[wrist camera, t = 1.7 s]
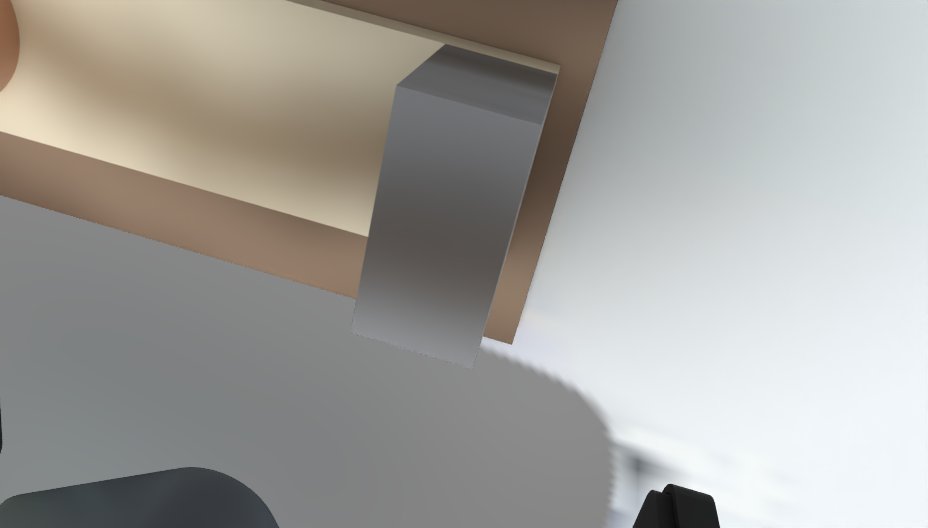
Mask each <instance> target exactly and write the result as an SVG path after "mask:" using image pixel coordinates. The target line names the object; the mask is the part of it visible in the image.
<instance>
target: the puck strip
mask: <svg viewBox="0 0 928 528" xmlns="http://www.w3.org/2000/svg"><path fill="white" fill-rule="evenodd" d="M11 3H12V5H13V8H14V11H15V14H16V18H17V23H18V28H19V37H20V51H19V58H18V63H17V66H16V70H15V72H14V74H13V76H12V78H11V80H10V81H9V83H8V84H7V86H6V87H5V88H4V89H3V90H2V91H1V92H0V131H1V132H5V133H8V134H12V135H15V136H19V137H22V138H26V139H29V140H33V141H36V142H40V143H43V144H47V145H50V146H54V147H57V148H61V149H64V150H67V151H71V152H74V153H78V154H81V155H85V156H88V157H92V158H95V159H99V160H102V161H106V162H109V163H113V164H116V165H120V166H123V167H127V168H130V169H134V170H137V171H141V172H144V173H148V174H151V175H154V176H158V177H161V178H165V179H168V180H172V181H175V182H179V183H182V184H186V185H189V186H193V187H196V188H200V189H203V190H207V191H210V192H214V193H217V194H221V195H224V196H228V197H231V198H234V199H238V200H241V201H245V202H248V203H252V204H255V205H259V206H262V207H266V208H269V209H273V210H276V211H280V212H283V213H287V214H290V215H294V216H297V217H301V218H304V219H308V220H311V221H315V222H318V223H321V224H325V225H328V226H332V227H335V228H339V229H342V230H346V231H349V232H353V233H356V234H360V235H363V236H367V237H368V240H367V245H366V251H365V256H364V261H363V267H362V272H361V278H360V283H359V288H358V294H357V299H356V305H355V310H354V316H353V321H352V326H351V331H350V332H351V333H352V334H356V335H359V336H362V337H366V338H369V339H373V340H376V341H380V342H383V343H387V344H389V345H393V346H396V347H400V348H403V349H407V350H410V351H413V352H417V353H420V354H424V355H427V356H430V357H434V358H437V359H441V360H444V361H447V362H450V363H454V364H458V365H460V366H464V367H467V368H471V369H473V367H474V363H475V360H476V356H477V353H478V350H479V346H480V343H481V340H482V336H483V333H484V330H485V326H486V323H487V320H488V316H489V313H490V310H491V306H492V303H493V300H494V296H495V293H496V289H497V286H498V283H499V279H500V276H501V273H502V269H503V266H504V263H505V259H506V256H507V252H508V249H509V245H510V242H511V238H512V235H513V231H514V228H515V224H516V221H517V217H518V214H519V210H520V207H521V203H522V200H523V196H524V193H525V189H526V186H527V182H528V179H529V175H530V172H531V168H532V165H533V161H534V157H535V154H536V150H537V147H538V143H539V140H540V136H541V133H542V129H543V126H544V122H545V119H546V115H547V112H548V108H549V105H550V101H551V98H552V94H553V91H554V87H555V84H556V80H557V77H558V73H559V70H560V66H561V65H558V64H554V63H551V62H547V61H543V60H539V59H536V58H532V57H528V56H525V55H521V54H517V53H514V52H510V51H506V50H502V49H499V48H495V47H491V46H488V45H484V44H480V43H476V42H473V41H469V40H465V39H462V38H458V37H454V36H451V35H447V34H443V33H439V32H436V31H432V30H428V29H425V28H421V27H417V26H413V25H410V24H406V23H402V22H399V21H395V20H391V19H388V18H384V17H380V16H376V15H373V14H369V13H365V12H362V11H358V10H354V9H350V8H347V7H343V6H339V5H336V4H332V3H328V2H325V1H321V0H11Z"/></svg>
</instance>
